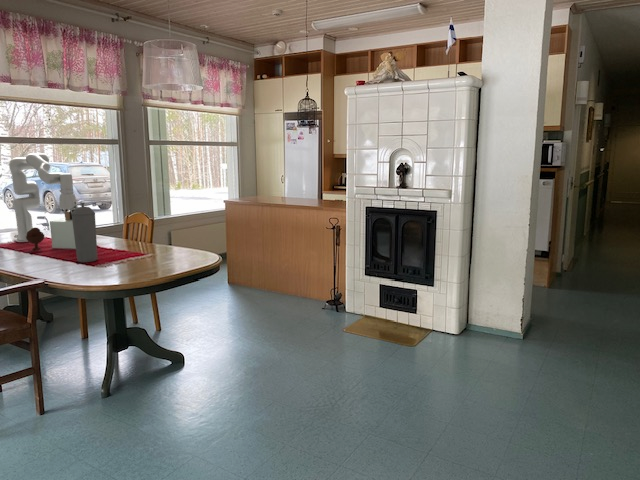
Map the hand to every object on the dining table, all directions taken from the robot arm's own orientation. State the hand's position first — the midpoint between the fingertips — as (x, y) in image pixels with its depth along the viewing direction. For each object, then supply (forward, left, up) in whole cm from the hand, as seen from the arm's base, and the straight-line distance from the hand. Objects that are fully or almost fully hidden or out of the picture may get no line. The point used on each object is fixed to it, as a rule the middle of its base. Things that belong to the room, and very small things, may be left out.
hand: (69, 218), depth 326 cm
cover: (0, 0, -19) cm, 19 cm away
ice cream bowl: (-16, -14, -19) cm, 29 cm away
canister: (+36, -38, -19) cm, 56 cm away
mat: (0, 0, -19) cm, 19 cm away
